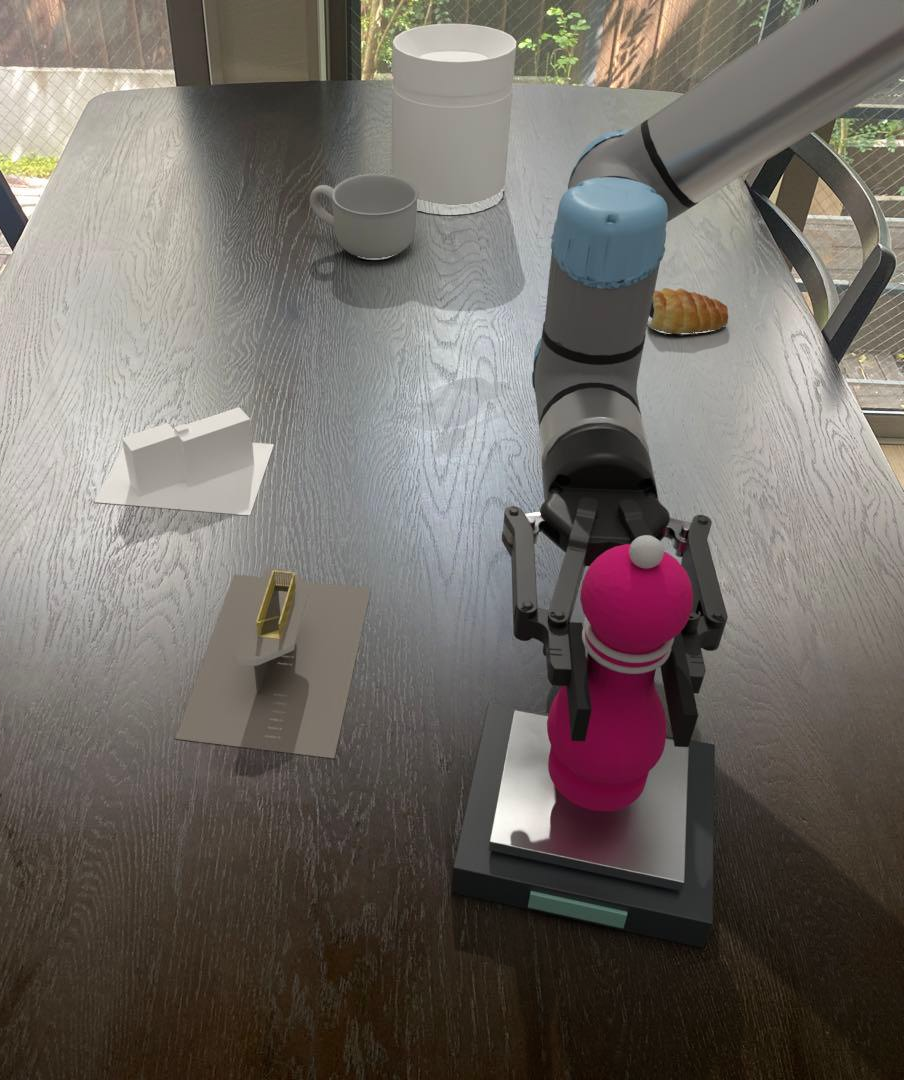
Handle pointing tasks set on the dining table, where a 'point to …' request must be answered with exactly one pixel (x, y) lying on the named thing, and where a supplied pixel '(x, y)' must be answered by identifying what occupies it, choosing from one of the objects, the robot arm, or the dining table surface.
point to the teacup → (370, 213)
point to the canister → (452, 110)
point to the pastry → (686, 312)
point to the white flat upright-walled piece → (190, 466)
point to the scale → (578, 889)
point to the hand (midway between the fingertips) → (633, 727)
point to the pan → (591, 815)
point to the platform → (278, 666)
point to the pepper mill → (621, 675)
